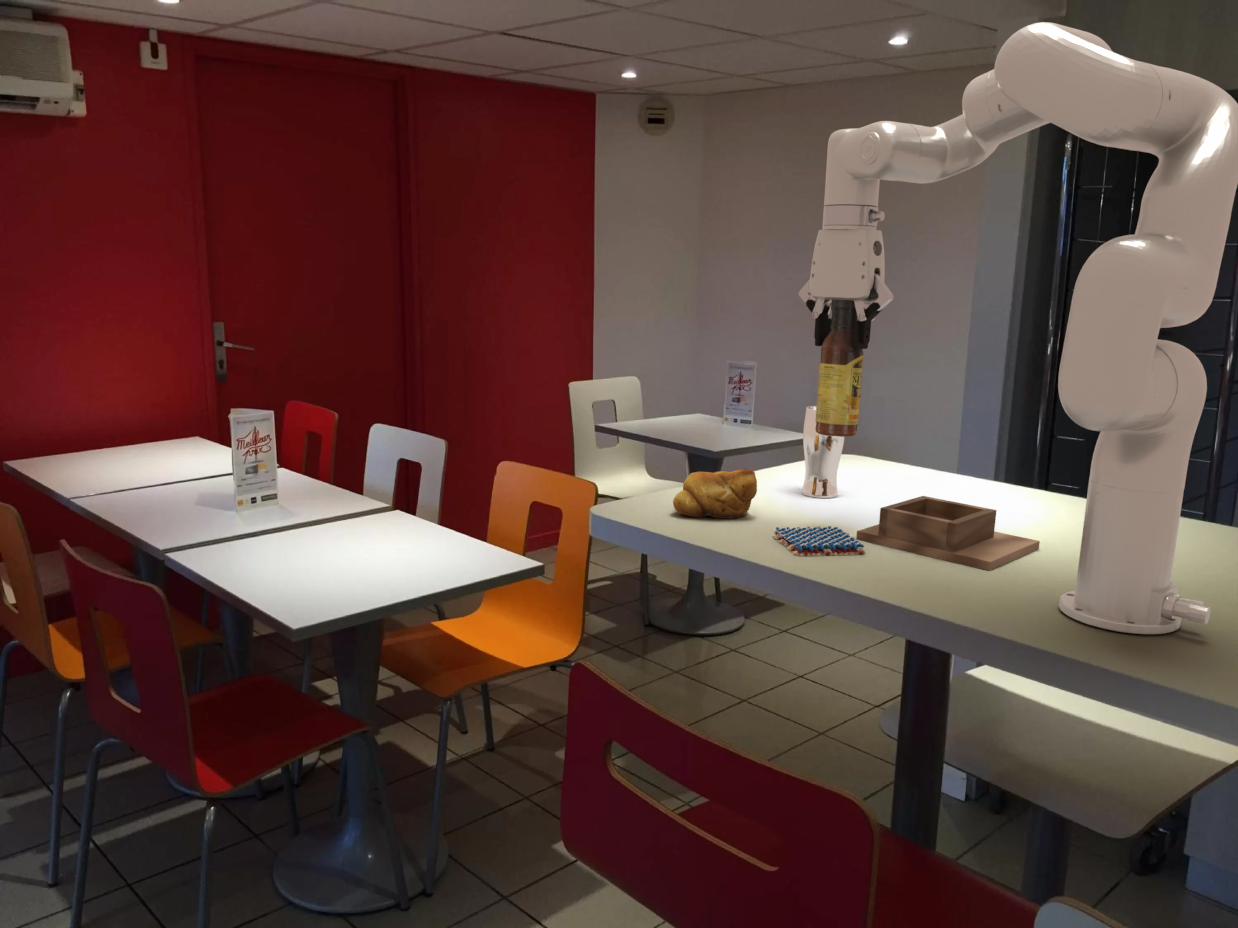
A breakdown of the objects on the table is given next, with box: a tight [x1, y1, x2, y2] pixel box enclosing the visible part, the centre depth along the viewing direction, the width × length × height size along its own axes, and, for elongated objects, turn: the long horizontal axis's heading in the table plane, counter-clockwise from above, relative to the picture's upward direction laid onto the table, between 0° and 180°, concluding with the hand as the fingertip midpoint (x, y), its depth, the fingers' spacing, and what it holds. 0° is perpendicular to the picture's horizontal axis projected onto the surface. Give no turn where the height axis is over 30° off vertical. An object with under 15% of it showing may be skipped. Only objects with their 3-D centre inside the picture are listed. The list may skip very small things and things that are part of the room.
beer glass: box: [801, 405, 846, 499], centre depth 173 cm, size 7×7×15 cm
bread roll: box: [672, 468, 758, 520], centre depth 158 cm, size 13×10×8 cm
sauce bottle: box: [816, 299, 864, 437], centre depth 148 cm, size 6×6×20 cm
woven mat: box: [771, 525, 866, 557], centre depth 142 cm, size 10×11×2 cm
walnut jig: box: [855, 495, 1041, 571], centre depth 144 cm, size 20×16×5 cm
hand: (841, 346), depth 148 cm, fingers closed on sauce bottle, 5 cm apart
